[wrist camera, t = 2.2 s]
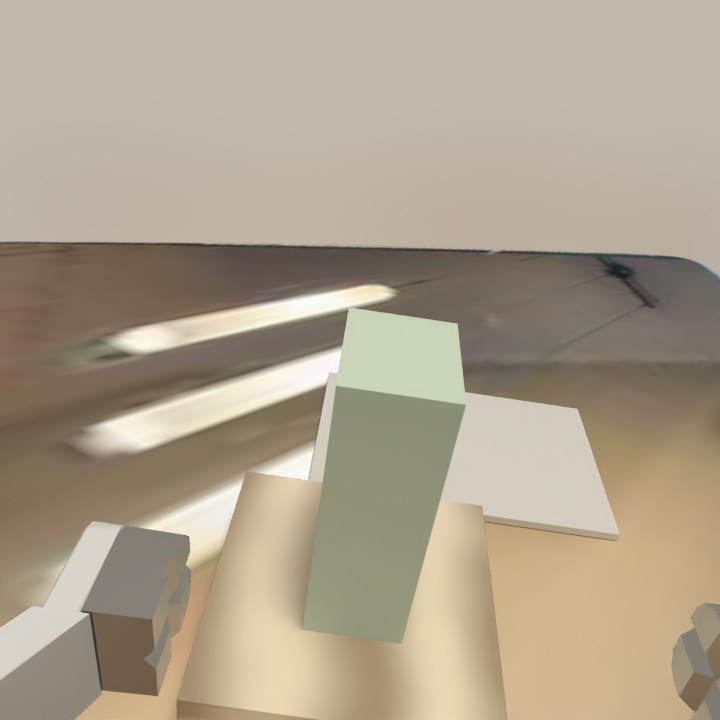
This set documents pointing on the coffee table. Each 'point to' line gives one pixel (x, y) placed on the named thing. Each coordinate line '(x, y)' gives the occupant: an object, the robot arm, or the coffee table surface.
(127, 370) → the coffee table surface
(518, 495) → the rubber mat
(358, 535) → the sage green pillar
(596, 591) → the coffee table surface
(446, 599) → the plate
